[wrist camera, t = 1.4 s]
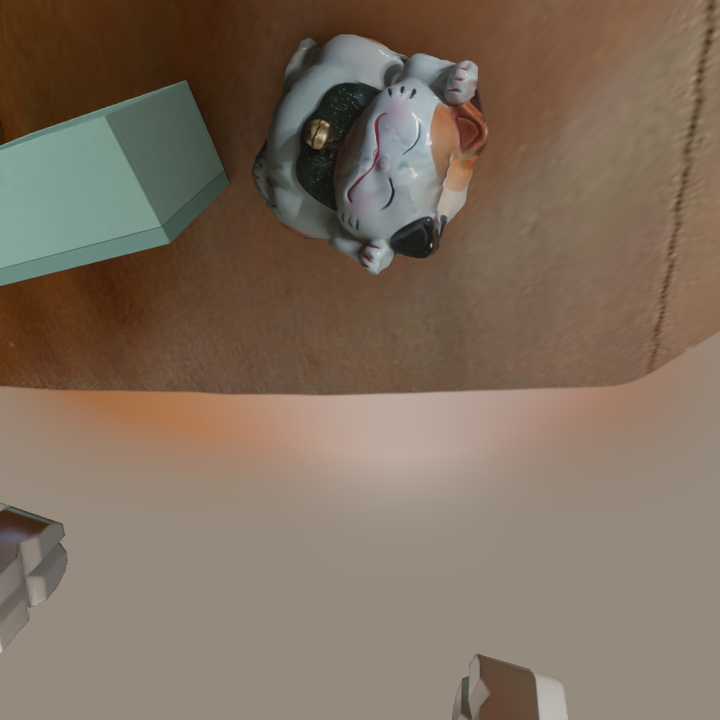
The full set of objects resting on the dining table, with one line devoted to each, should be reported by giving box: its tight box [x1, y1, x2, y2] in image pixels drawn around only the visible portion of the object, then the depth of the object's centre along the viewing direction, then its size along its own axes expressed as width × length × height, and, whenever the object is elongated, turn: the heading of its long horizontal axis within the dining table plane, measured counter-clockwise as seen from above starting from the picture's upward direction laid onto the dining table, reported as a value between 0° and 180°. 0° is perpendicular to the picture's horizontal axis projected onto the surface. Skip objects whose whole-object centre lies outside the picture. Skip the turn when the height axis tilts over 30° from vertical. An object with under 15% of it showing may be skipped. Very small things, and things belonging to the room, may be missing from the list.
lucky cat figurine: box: [252, 34, 488, 276], centre depth 36 cm, size 15×12×14 cm
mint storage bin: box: [0, 80, 230, 286], centre depth 39 cm, size 8×15×12 cm, turn 106°
